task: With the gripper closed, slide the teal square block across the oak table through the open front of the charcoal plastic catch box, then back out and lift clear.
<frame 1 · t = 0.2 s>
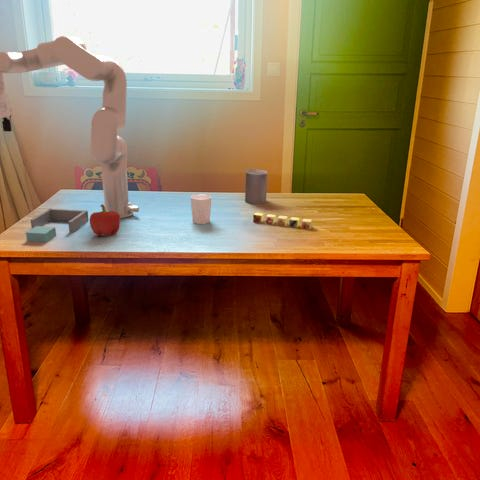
hand: (0, 132, 185), 31 cm above the table, tool pointing down, fingers open, 9 cm apart
vegetable: (106, 234, 171), on the table
catch box: (60, 225, 178), on the table
pillar candle: (255, 201, 215), on the table
row of toy blocks: (282, 227, 184), on the table
teal square block: (42, 239, 165), on the table
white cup: (201, 221, 186), on the table
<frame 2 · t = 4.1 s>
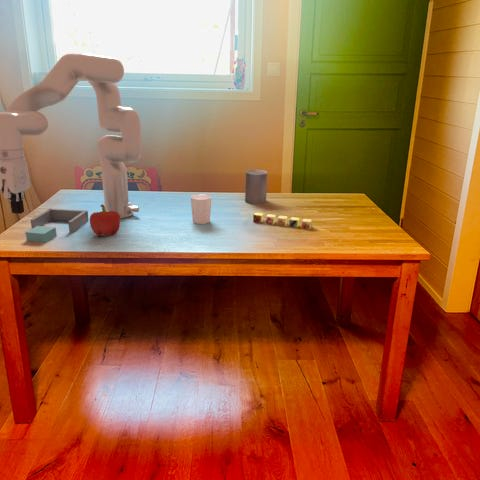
hand: (18, 212, 150), 13 cm above the table, tool pointing down, fingers closed
nothing on the table moved.
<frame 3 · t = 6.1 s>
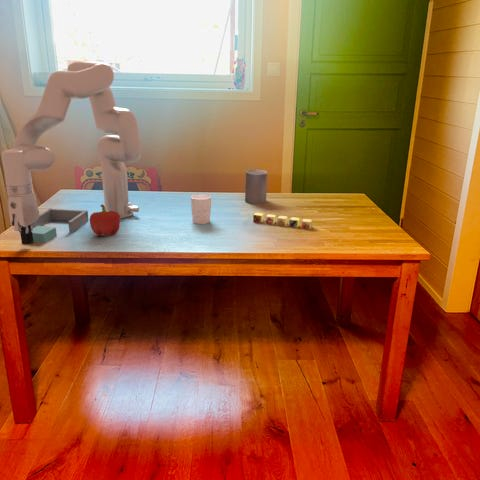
hand: (27, 243, 156), 2 cm above the table, tool pointing down, fingers closed
nothing on the table moved.
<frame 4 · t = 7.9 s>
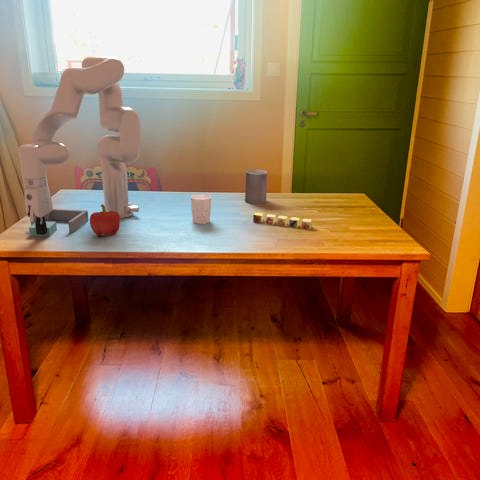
hand: (42, 233, 165), 2 cm above the table, tool pointing down, fingers closed
teal square block: (43, 233, 170), on the table, touching gripper
everything else where it was.
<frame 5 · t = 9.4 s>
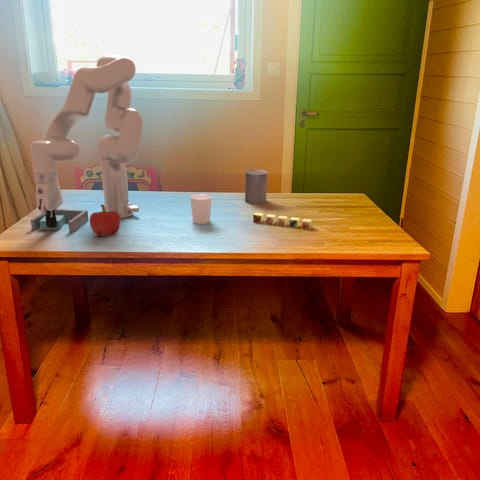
hand: (51, 226, 172), 2 cm above the table, tool pointing down, fingers closed
teal square block: (53, 227, 177), on the table
everything else where it was.
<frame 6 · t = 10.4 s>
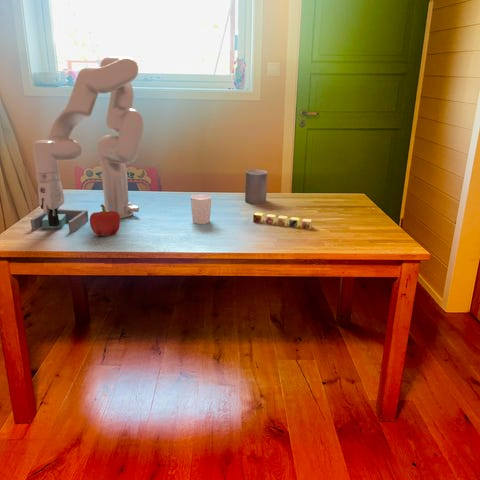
hand: (54, 225, 173), 2 cm above the table, tool pointing down, fingers closed
teal square block: (55, 225, 179), on the table
everything else where it was.
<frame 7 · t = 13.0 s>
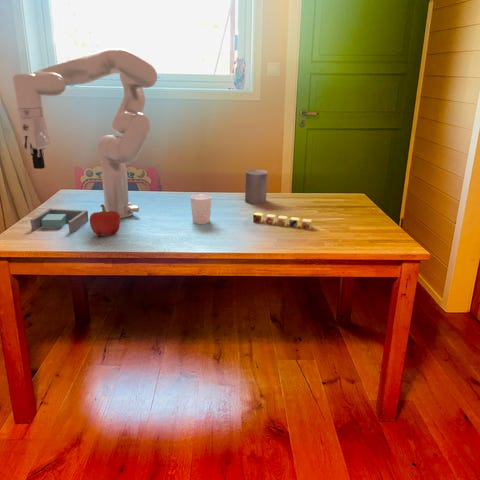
hand: (39, 168, 163), 23 cm above the table, tool pointing down, fingers closed
nothing on the table moved.
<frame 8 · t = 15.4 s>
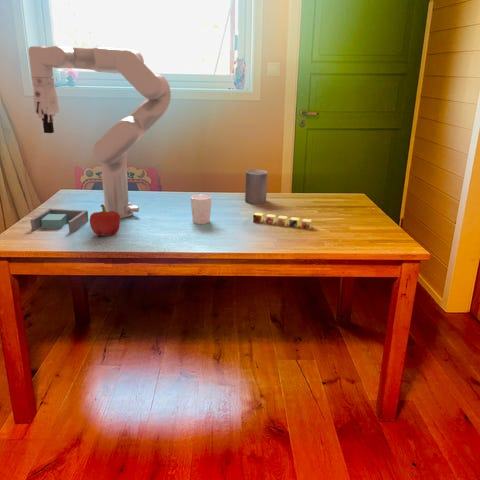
hand: (49, 132, 181), 32 cm above the table, tool pointing down, fingers closed
nothing on the table moved.
at the end: teal square block inside the target area on the catch box (2.3 cm from its centre), point 0.0 cm above the catch box's base; teal square block moved 14.6 cm from its start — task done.
